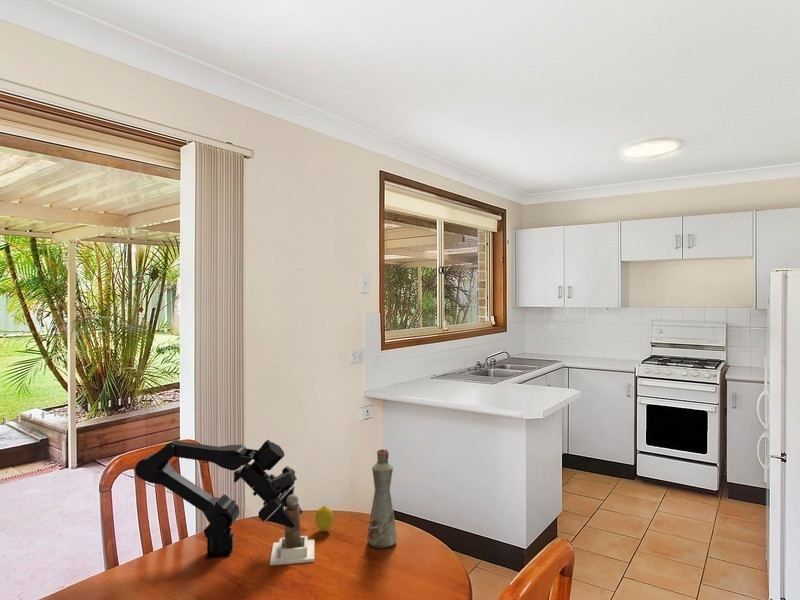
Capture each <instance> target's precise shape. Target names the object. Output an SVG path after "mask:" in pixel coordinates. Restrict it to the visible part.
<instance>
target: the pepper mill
mask: <svg viewBox="0 0 800 600" xmlns="http://www.w3.org/2000/svg"><path fill="white" fill-rule="evenodd" d="M286 503H287V507H284V511H285V512H286V513H287V514H288V516H289V517H290V518H291V520H292V521H293V522H294V524H295V526H294V527H293V528H290V527H287V526H284V537H285V548H298V547H301V536H302V535H301V514H300V508H301V506H300V505H299V506H300V507H299V506H298V504H299V497H298V495H296V494H295V493H294V494H291V495H289V496H288V497H287V499H286Z"/></svg>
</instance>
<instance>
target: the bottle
mask: <svg viewBox="0 0 800 600" xmlns="http://www.w3.org/2000/svg"><path fill="white" fill-rule="evenodd" d="M376 454H377V455H376V457H377V459H376V460H377V461H376V462H375V463H374V464H373V465H372V469H371V470H372V476H373V484H374V485H373V486H374V494H373V498H372V499H373V500H372V507H371V511H370V518H369V521H368V526H367V539H366V540H367V542H368V544H369V545H370V546H371V547H373V548H377V549H384V548H389V547H391V546H393V545H395V544H396V543H397V541H398V535H397V534H398V533H397V527H396V526H397V525H396V521H395V514H394V508H393V502H392V501H393V500H392V495H391V484H392V483H391V482H392V476H393V472H394V471H393V470H394V467H393V466H392V464H391V463H390V462H389V450H387V449H379V450H377V452H376Z"/></svg>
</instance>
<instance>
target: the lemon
mask: <svg viewBox="0 0 800 600" xmlns="http://www.w3.org/2000/svg"><path fill="white" fill-rule="evenodd" d="M314 519H315V520H314V521H315V524H316V527H317V528H318V529H319V530H321V531H322V532H326V531H327V530H329V529H330V528H331V527H332V525H333V523H334V514H333V511H332V509H331V508H329V507H328V506H326V505H323V506H321V507H319V508H318V509H317V511H316V513H315V517H314Z"/></svg>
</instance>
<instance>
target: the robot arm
mask: <svg viewBox="0 0 800 600" xmlns="http://www.w3.org/2000/svg"><path fill="white" fill-rule="evenodd" d="M284 457H285V451H284V450H283V448H281V446H280V445H279V444H276V443H274V442H272V441H270V440H269V439H267V440H266V441H264V443H263V444H262V445H261V446H260V448H259V449H252V448H247V447H246V446H245V445H243V444H229V445H221V446H220V445H219V446H218V445H217V446H216V445H215V446H214V445H211V444H210V445H209V444H203V443H201V444H200V443H194V442H189V441H180V440H178V439H173V440H172V441H170V442H168V443H166V445H164V446H163V447H162V448H160V450H158V451H157V452H156V453H151V454H149V455H147V456H146V457H145V458H142V459H141V460H139V461H138V462H137V463H136V464H135V468H134V469H135V476H136V478H137V477H138V479H140V480H143V481H145V482H147V483H150V484H156V485H161V486H163V487H164V488H166V489H167V490H169V491H171V492H172V493H174V494H175V495H177V496H178V497H179V498H182V499H183V500H184V501H186V503H189V504H190V505H192V506H193V507H195V508H196V509H198V510H199V511H201V512H202V513H203V515H204V516H205V518H206V520H207V522H208V523H209V524H208V525H207V526H206V527H205V528H204V530H203V533H204V536H205V538H206V555H205V558H206V559H214V558H228V557H230V555H231V554H232V552H233V550H234V543H235V542H234V541H235V540H234V538H235V537H234V536H235V535H234V533H232V532H233V531H232V527H231V526H233V524H234V523H235V521H236V520H237V519H238V518H239V516H240V507H239V505H238V504H237V503H236V500H234V499H231V498H230V497H229V496H228V495H227V494H223V495H221V496H220V497H216V496H213V495H212V494H210V493H209V492H207V491H206V490H204V489H203V488H201V487H200V486H198V485H197V484H195V483H194V482H192V481H190V480H189V479H187V478H186V477H185V476H184V475H181V474H180V473H178V472H176V471H175V470H174V468H173V466H172V465H171V462H170V460H171V459H173V458H179V459H186V460H194V461H202V462H209V463H212V464H215V465H217V466H218V467H220V468H222V469H226V470H228V471H234V472H233V483H237V482H238V481H239V480H240V479H241V480H243V482H245V484H247V486H248V487H250V489H252V491H253V492H252V495H253V496H254V497H256V496H258V497H259V498H260V499H261V500H262V501H263V503H262V505H263V506H262V507H261V508H260V509H259V510H258V516H257V517H258V518H259V519H260V521H262V522H263V523H264V522H265V521H266V523H268V522H270V523H274V524H277V525H281V526H284V527H285V526H287V527H290V528H293V527H294V526H295V524H294V522H293V521H292V520H291V518H290V517H289V516H288V514H287V513H286V512H285V508H286V507H287V503H286V499H287V497H288V496H289V495H291V494H295V486H294V485H295V481H297V479H298V478H297V476H296V475H295V473H296V470H294V469H293V468H291V467H290V466H285V467H283V469H282V470H281V473H279V475H277V476H275V474H269V473H267V472H266V471H271V470H272V469H273V468H274V467H275V466H277V464H278V463H279V462H280V461H281V460H282V459H283V458H284ZM252 460H253V462H252V463H250V462H251V461H252ZM242 466H243V467H242ZM241 467H242V468H241ZM239 468H240V469H239ZM238 469H239V470H238ZM298 506H299V507H300V515H302V514H303V510H302V508H301V506H300V504H299V503H298Z"/></svg>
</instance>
